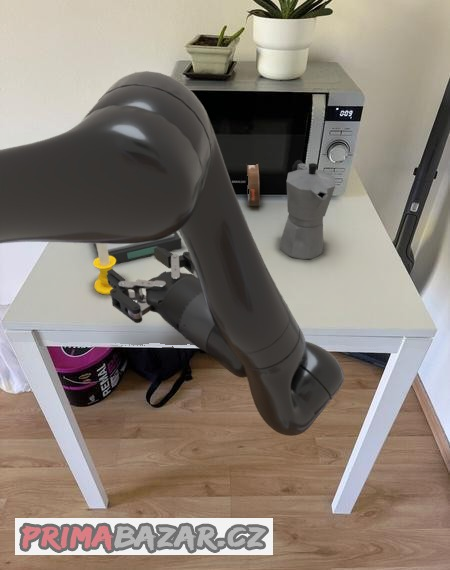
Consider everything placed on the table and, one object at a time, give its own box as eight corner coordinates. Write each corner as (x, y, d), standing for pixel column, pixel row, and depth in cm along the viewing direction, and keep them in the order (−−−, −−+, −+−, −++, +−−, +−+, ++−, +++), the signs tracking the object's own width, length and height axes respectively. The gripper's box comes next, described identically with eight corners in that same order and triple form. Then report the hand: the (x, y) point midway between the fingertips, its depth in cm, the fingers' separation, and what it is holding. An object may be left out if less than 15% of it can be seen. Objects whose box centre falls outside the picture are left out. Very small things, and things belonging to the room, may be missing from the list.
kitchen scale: (102, 267, 85) (100, 254, 83) (87, 226, 96) (84, 214, 94) (181, 248, 90) (180, 236, 88) (158, 211, 101) (157, 199, 99)
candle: (118, 273, 83) (105, 199, 73) (128, 289, 80) (115, 213, 70) (91, 282, 81) (73, 207, 71) (100, 298, 78) (82, 222, 68)
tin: (259, 212, 101) (262, 178, 96) (246, 212, 101) (247, 178, 96) (257, 182, 113) (259, 150, 107) (245, 182, 113) (246, 150, 107)
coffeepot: (335, 263, 86) (353, 178, 75) (289, 268, 85) (300, 182, 73) (308, 222, 98) (320, 143, 86) (267, 226, 96) (274, 146, 85)
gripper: (241, 271, 61) (168, 225, 70) (157, 321, 53) (87, 262, 62) (239, 311, 66) (171, 263, 75) (163, 362, 58) (97, 302, 67)
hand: (133, 262), depth 68 cm, fingers open, 8 cm apart
